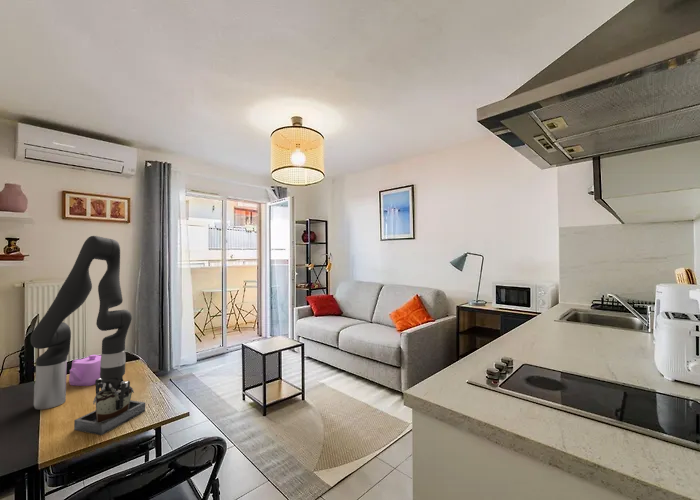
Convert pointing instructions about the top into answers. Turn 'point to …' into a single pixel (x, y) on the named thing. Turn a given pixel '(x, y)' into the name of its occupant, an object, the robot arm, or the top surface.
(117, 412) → the grey speckled half-round piece
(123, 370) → the robot arm
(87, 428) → the grey metal tray
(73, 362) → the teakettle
